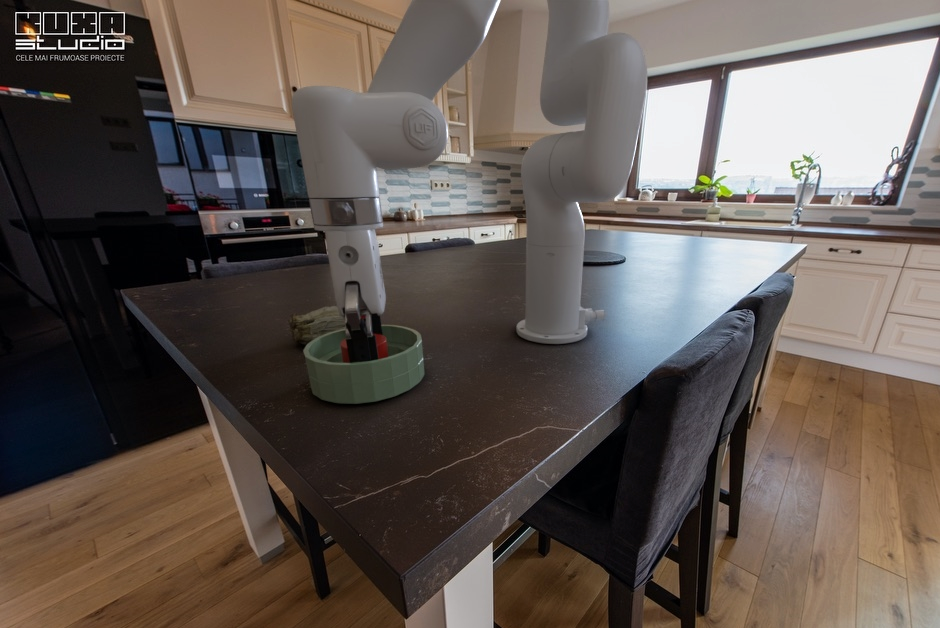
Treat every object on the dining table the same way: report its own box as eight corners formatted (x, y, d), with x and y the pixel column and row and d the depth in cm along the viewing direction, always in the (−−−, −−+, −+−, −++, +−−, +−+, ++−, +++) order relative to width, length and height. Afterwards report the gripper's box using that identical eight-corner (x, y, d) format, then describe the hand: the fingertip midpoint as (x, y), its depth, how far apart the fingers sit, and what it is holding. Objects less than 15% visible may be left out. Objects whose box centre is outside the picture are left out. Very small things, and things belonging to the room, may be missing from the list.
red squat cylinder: (391, 366, 56) (386, 324, 53) (390, 384, 51) (384, 338, 48) (348, 370, 54) (342, 328, 52) (343, 389, 49) (335, 343, 47)
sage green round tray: (422, 355, 61) (419, 321, 59) (427, 399, 48) (423, 357, 46) (322, 364, 57) (316, 329, 56) (299, 414, 45) (290, 370, 43)
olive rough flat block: (300, 355, 61) (293, 322, 59) (287, 338, 68) (280, 308, 66) (390, 335, 69) (387, 305, 67) (370, 322, 76) (366, 295, 74)
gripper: (377, 219, 38) (397, 377, 45) (384, 210, 54) (398, 328, 60) (293, 221, 37) (326, 385, 43) (325, 211, 52) (346, 333, 58)
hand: (368, 352), depth 51 cm, fingers open, 9 cm apart
